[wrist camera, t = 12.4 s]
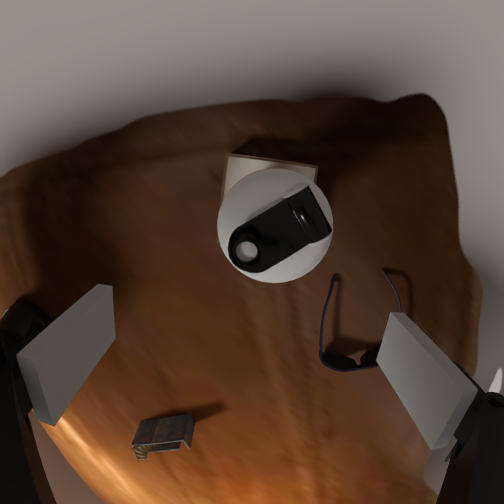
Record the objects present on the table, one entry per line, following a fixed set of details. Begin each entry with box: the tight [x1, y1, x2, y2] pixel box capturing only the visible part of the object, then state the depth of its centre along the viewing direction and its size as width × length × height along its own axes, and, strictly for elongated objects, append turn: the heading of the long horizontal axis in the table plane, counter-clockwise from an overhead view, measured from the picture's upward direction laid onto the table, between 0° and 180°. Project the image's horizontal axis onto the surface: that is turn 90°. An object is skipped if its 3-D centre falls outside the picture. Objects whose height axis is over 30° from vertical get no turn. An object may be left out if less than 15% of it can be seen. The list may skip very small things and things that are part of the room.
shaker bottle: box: [217, 168, 333, 283], centre depth 31 cm, size 9×9×20 cm
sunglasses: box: [319, 270, 402, 372], centre depth 47 cm, size 14×16×5 cm
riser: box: [216, 153, 318, 245], centre depth 43 cm, size 12×12×4 cm
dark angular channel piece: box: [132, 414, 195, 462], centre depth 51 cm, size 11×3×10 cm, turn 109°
